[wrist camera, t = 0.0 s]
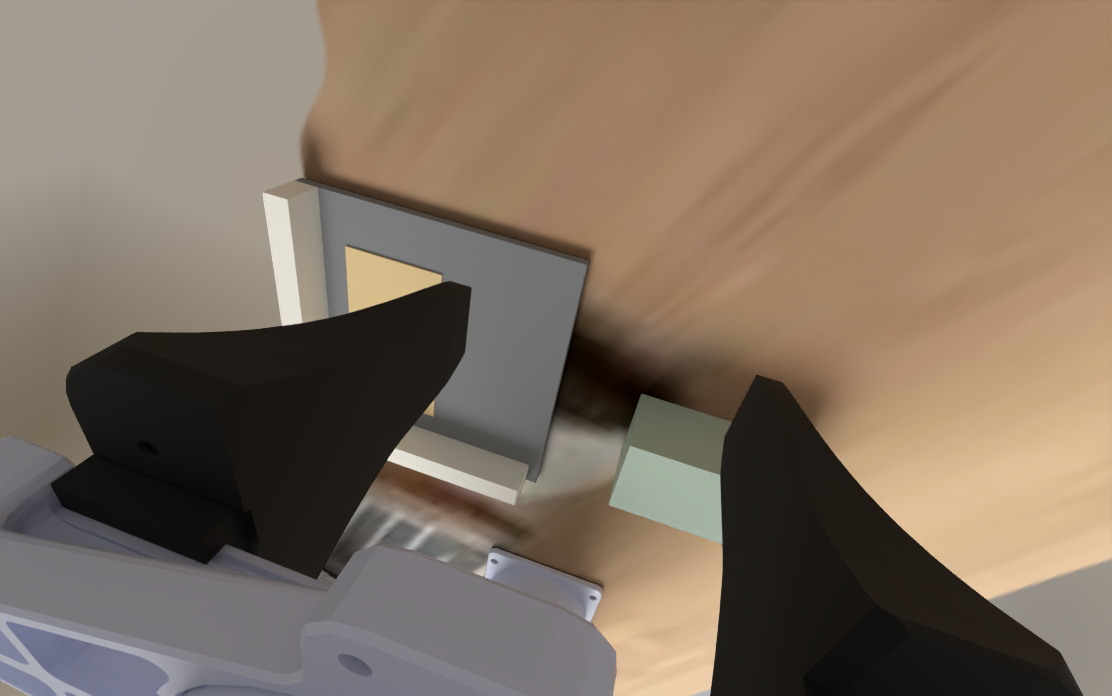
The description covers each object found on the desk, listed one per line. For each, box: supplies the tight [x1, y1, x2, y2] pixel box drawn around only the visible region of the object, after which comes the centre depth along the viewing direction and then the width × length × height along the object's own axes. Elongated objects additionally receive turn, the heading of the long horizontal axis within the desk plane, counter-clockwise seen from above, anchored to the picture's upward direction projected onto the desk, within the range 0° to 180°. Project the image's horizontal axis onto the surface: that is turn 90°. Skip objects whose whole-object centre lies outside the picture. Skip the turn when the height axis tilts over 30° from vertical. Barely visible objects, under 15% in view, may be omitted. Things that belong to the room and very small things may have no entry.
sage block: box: [608, 394, 732, 544], centre depth 24 cm, size 4×8×4 cm, turn 80°
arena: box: [263, 178, 589, 505], centre depth 26 cm, size 14×14×2 cm
